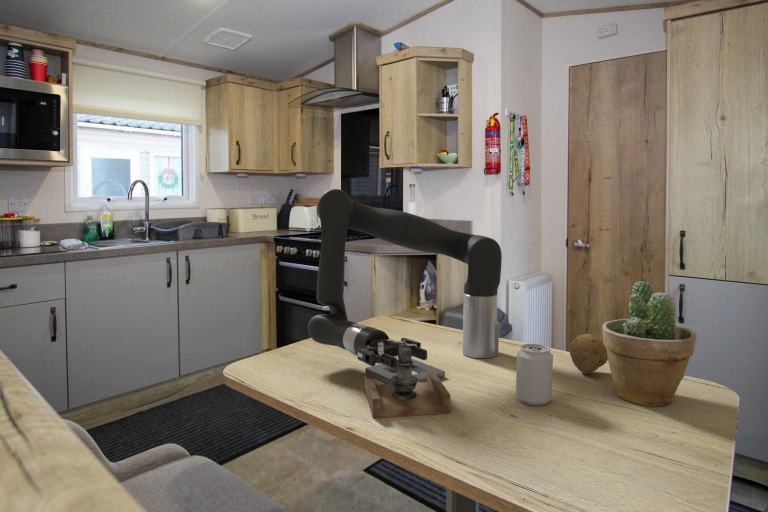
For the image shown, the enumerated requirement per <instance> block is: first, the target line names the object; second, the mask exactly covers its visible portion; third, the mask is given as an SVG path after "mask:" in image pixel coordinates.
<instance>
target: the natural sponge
mask: <svg viewBox="0 0 768 512" xmlns="http://www.w3.org/2000/svg"><path fill="white" fill-rule="evenodd" d="M568 351H569V354H570V358H571V361H572V362H573V365H574V366H575V367H576V368H577V370H579V372H581V373H583V374H584V375H589V374H592V373H594V372H595V371H597V370H598V369H599V368H601V367H602V366H604V365H605V364H606V363H607V362H608V356H607V350H606V347H605V346H604V345H603V340H602V339H600V338H599V337H597V336H596V335H593V334H591V333H585V334H580V335H578V336H576V337H575V338H573V340H572V341H571V342H570V343H569V350H568Z"/></svg>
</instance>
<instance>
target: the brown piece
mask: <svg viewBox="0 0 768 512" xmlns="http://www.w3.org/2000/svg"><path fill="white" fill-rule="evenodd" d="M395 391H396V389H395V388H394V386H393V384H387V383H383V384H376V383H375V379H374V377H372V375H371V374H368V375H367V374H364V394H365V396H366V400H367V403H368V407H369V411H370V413H371V417H372V419H377V418H378V419H379V418H392V417H393V418H394V417H395V418H396V417H408V416H409V417H410V416H411V417H413V416H423V415H424V416H425V415H441V414H450V413H451V393H450V391H448V390H447V388H446V387H445V385H444V384H443V382H442V381H441V379H439V378H438V377H437V375H436V374H435V373H434V371H427V382H417V384H416V387H415V388H414V389H413V390H412V391H414V392H415V393H416V394H417V396H416V397H415V398H413V399H410V400H400V399H396V398H394V397H393V396H392V394H393V392H395Z"/></svg>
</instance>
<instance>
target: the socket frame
mask: <svg viewBox="0 0 768 512" xmlns="http://www.w3.org/2000/svg"><path fill="white" fill-rule="evenodd" d="M411 361H413V364H412V372H413V371H414V372H417V373H415V374H412V375H413V376H415V377H417V378H418V382H427V371H434V373H435V374H436V375H437V377H438V378H439V380H441V379H443V378H446V370H442V369H441V368H438V367H435V366H432V365H431V364H430V365H429V364H427V363H426V362H425V363H424V362H422V361H419V360H416V359H413V358H412V357H411ZM396 371H398V364H397V368H391V367H389V366H386V365H384V364H383V365H379V364H375V366H368V367H367V366H366V367H365V370H364V372H365V374H364V375H368V374H371V375H372V377H373V379H377V380H378V381H380V382H382V383H383V384H392V381H391V378H392V377H393V376H395V375H397V373H393V372H396Z"/></svg>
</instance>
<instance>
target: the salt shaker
mask: <svg viewBox="0 0 768 512" xmlns="http://www.w3.org/2000/svg"><path fill="white" fill-rule="evenodd" d="M411 358H412V356H411V348H410V347H409V346H408V345H406V342H405V341H404V345H401V346H400V347H399V348H398V357H397V364H398V370H397V373H396V375H395V376H393V377H392V378H391V381H392V384H393V386H394V388H395V389H396V391H395V392H393V394H392V396H393V397H394V398H396V399H400V400H410V399H413V398H415V397H416V396H417V394H416V393H415V392H414V391H412V390H413V389H414V388H415V387H416V384H417V382H418V378H417V377H415V376H413V375H414V374H413V370H412V364H413V361H411Z"/></svg>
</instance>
